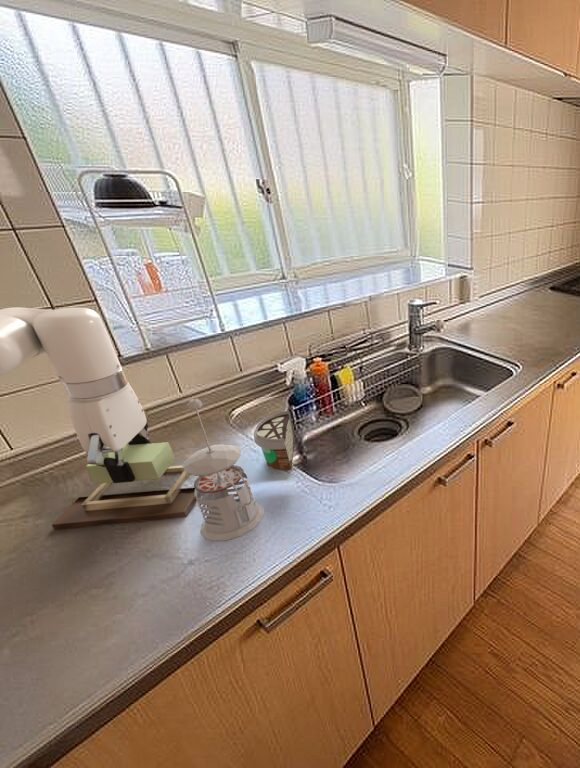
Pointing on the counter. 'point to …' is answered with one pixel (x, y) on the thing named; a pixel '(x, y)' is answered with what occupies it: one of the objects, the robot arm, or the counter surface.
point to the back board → (129, 505)
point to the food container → (276, 440)
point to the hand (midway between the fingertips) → (135, 468)
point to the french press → (222, 490)
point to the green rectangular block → (138, 462)
